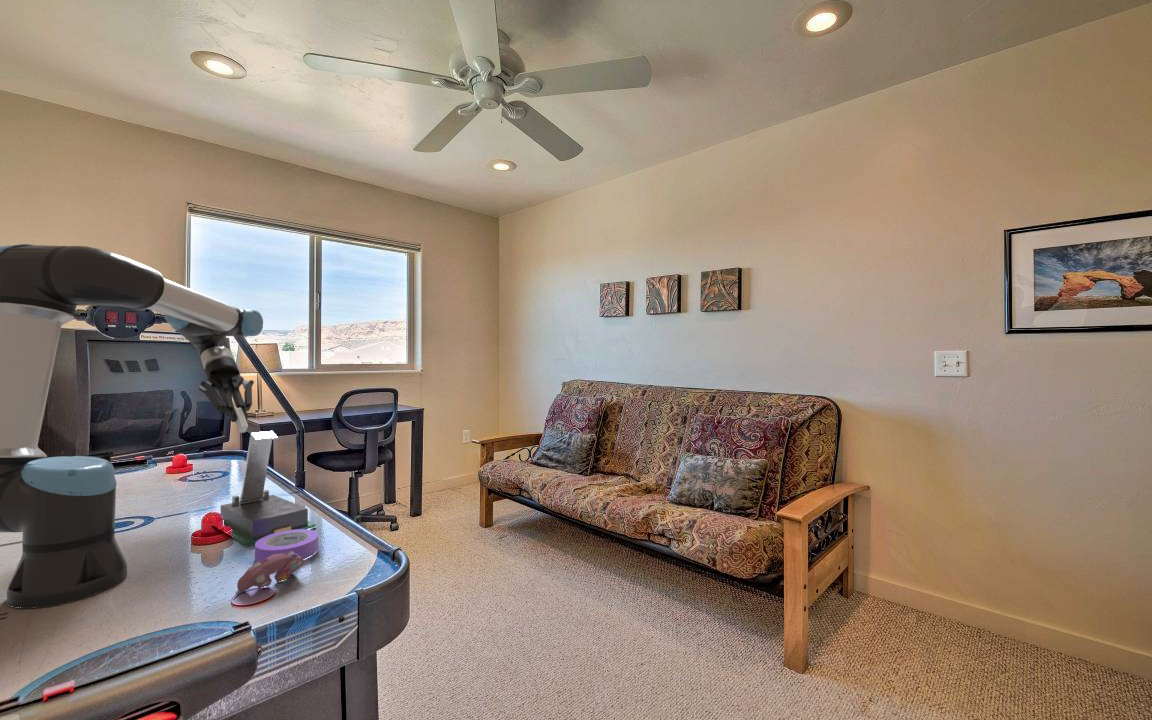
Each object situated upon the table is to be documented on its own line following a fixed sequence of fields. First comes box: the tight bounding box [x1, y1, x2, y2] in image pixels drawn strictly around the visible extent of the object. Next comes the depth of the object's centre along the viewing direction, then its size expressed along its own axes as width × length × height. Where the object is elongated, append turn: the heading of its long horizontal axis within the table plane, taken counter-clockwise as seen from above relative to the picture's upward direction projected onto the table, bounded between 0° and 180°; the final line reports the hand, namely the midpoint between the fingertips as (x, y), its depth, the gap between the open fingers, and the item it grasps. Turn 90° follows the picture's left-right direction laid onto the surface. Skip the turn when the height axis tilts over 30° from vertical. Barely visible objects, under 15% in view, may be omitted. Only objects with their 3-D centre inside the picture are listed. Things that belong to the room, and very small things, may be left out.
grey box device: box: [220, 489, 317, 547], centre depth 121 cm, size 22×15×7 cm
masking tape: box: [254, 529, 319, 563], centre depth 104 cm, size 12×12×4 cm
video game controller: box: [236, 551, 304, 593], centre depth 90 cm, size 10×5×7 cm, turn 148°
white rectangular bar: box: [239, 430, 279, 503], centre depth 123 cm, size 20×5×4 cm
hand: (243, 429), depth 129 cm, fingers closed
